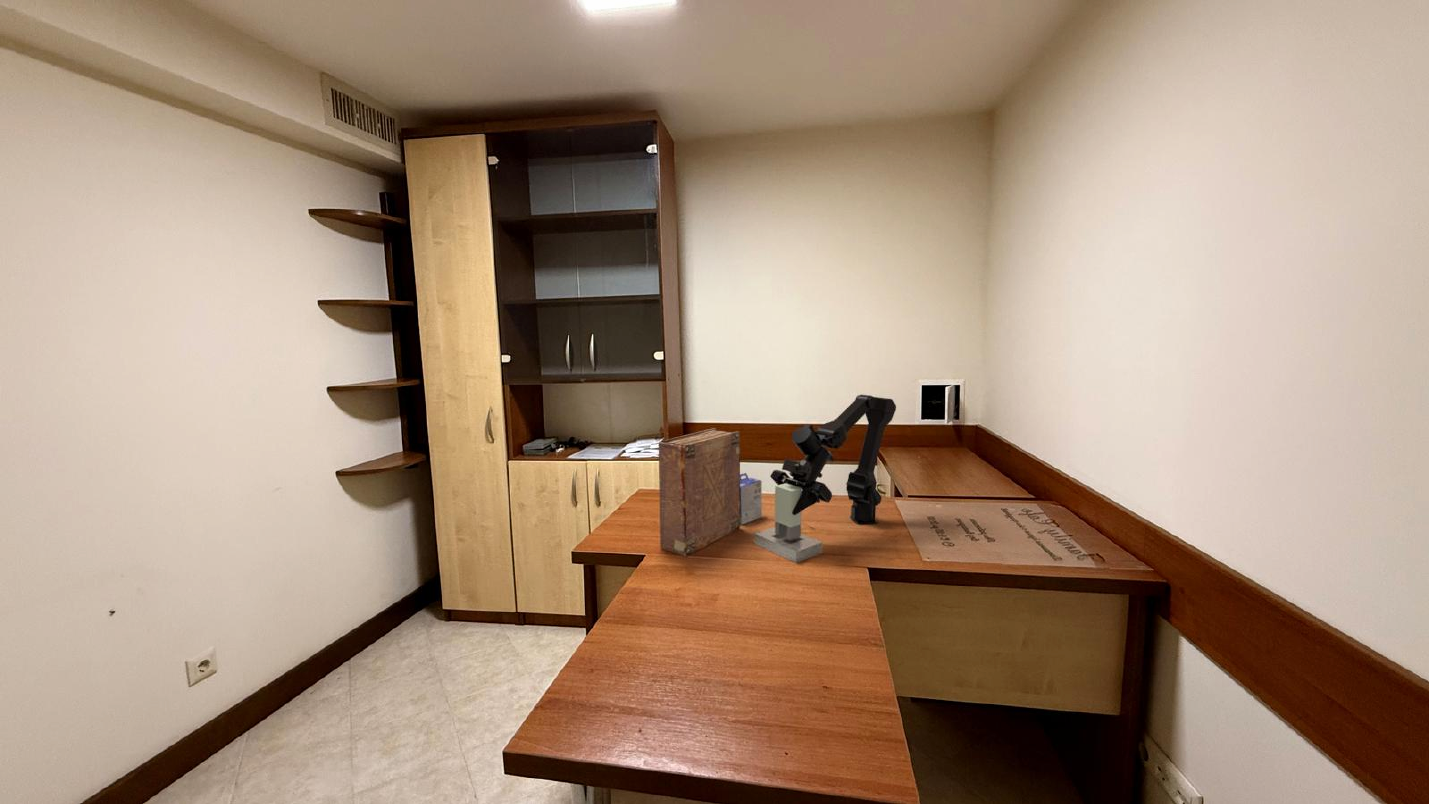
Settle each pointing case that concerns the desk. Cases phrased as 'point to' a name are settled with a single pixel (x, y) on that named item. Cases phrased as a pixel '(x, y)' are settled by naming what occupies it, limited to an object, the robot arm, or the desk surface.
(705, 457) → the book
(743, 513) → the ink cartridge box
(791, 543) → the grey slotted base
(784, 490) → the clip
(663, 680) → the desk surface
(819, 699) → the desk surface
